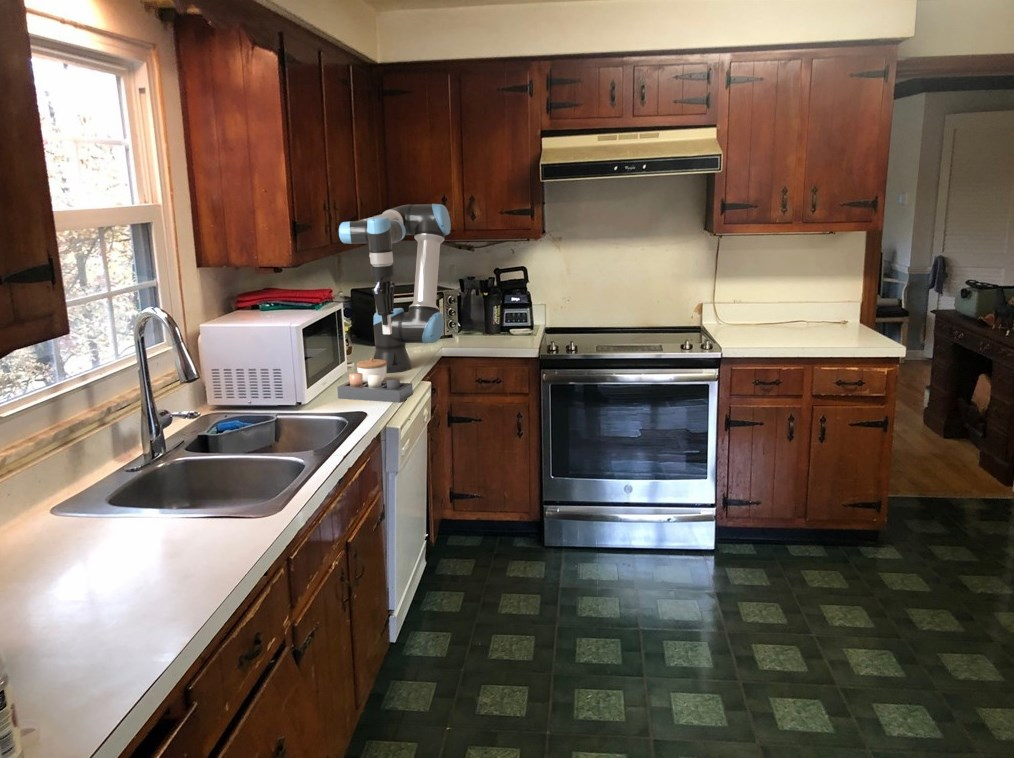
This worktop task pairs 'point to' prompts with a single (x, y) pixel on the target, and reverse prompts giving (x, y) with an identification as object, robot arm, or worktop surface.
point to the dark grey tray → (375, 392)
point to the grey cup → (393, 384)
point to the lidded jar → (372, 368)
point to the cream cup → (374, 380)
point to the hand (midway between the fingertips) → (387, 333)
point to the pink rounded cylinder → (356, 379)
